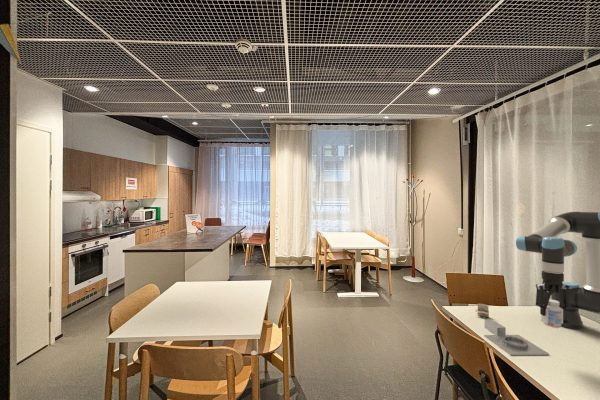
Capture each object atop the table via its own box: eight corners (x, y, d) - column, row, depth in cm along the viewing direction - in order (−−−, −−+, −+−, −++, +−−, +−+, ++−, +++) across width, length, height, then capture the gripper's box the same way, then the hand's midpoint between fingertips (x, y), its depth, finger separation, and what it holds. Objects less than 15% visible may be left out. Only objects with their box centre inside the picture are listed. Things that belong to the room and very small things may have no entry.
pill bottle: (539, 322, 131) (539, 298, 131) (551, 322, 131) (551, 298, 131) (552, 328, 125) (552, 303, 125) (565, 328, 125) (565, 303, 125)
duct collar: (504, 327, 158) (504, 319, 158) (549, 355, 130) (549, 345, 130) (472, 327, 157) (472, 319, 157) (510, 355, 129) (510, 345, 129)
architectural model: (488, 319, 168) (488, 307, 168) (475, 316, 172) (475, 304, 172) (488, 317, 171) (488, 305, 171) (475, 315, 175) (475, 303, 175)
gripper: (564, 269, 132) (564, 318, 132) (525, 269, 131) (524, 319, 131) (581, 273, 124) (580, 325, 125) (539, 273, 124) (539, 326, 124)
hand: (552, 322), depth 128 cm, fingers closed on pill bottle, 6 cm apart
